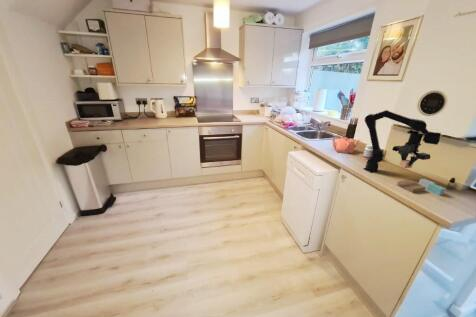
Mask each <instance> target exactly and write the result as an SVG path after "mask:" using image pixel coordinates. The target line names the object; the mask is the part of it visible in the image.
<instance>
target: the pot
mask: <svg viewBox="0 0 476 317" xmlns="http://www.w3.org/2000/svg"><path fill="white" fill-rule="evenodd" d="M330 139H331V141H332V146H333V149H334V150H335V151H336V152H337V153H343V154H352V153H353V152H354V150H355V149H356V147H357V145H358V142H360V141H361V139H356V140H355V142H354V140H353V139H351V138H348V137H344V136H343V135H341V136H340V137H339V138H336V139H335V138H333V137H330ZM335 140H336V141H335Z"/></svg>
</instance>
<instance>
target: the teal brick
mask: <svg viewBox="0 0 476 317" xmlns="http://www.w3.org/2000/svg"><path fill="white" fill-rule="evenodd" d="M446 190H447V188H445V187H443V186H441V185H438V184H437V183H436V184H429V186H428V188H427V189H426V191H427V192H430V193H432V194H435V195H437V196H443V195H444V194H445V192H446Z"/></svg>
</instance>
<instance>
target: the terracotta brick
mask: <svg viewBox="0 0 476 317" xmlns="http://www.w3.org/2000/svg"><path fill="white" fill-rule="evenodd" d="M409 162H410V159H406V160H402V159H401V161H400V163H399V166H398V167H400V168H403V169H410V168H413V165H414V163H413V164H412V165H411V166H408V165H409Z"/></svg>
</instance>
